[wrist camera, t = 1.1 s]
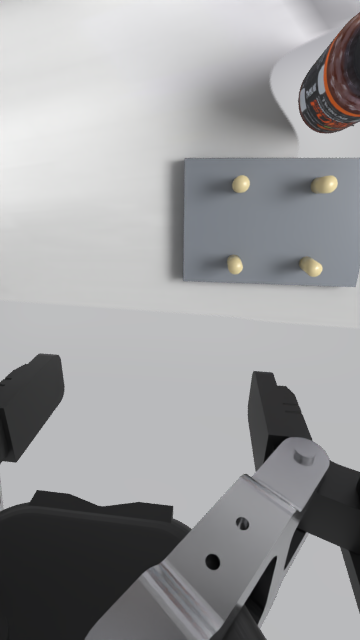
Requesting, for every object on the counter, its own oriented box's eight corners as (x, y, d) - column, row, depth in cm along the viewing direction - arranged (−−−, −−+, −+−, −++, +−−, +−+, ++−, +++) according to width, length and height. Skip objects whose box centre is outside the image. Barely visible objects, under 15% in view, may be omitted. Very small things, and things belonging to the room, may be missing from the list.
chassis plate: (186, 159, 31) (181, 154, 27) (376, 159, 30) (402, 153, 25) (184, 277, 36) (180, 288, 32) (349, 283, 34) (368, 295, 30)
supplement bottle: (286, 126, 29) (325, 88, 19) (311, 48, 27) (371, -44, 17) (348, 142, 29) (421, 113, 19) (378, 65, 27) (481, -16, 17)
